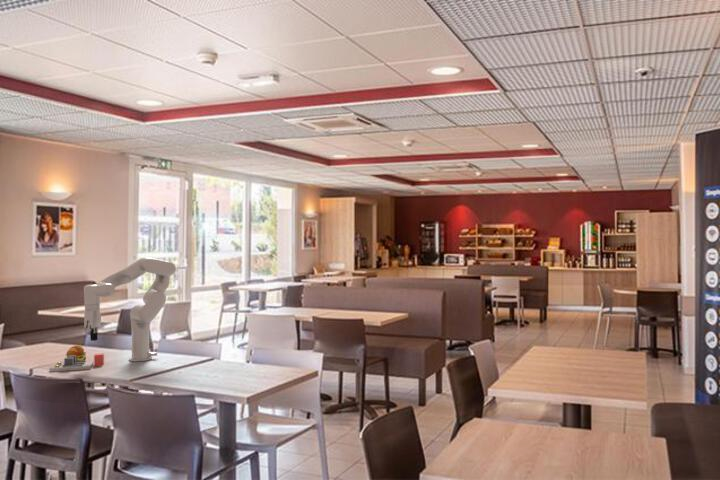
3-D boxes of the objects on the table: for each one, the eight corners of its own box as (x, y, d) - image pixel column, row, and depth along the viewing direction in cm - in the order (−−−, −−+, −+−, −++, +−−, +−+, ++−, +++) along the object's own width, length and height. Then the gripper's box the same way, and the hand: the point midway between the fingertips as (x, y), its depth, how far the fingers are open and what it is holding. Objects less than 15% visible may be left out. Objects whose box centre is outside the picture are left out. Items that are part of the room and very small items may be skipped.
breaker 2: (76, 362, 337) (76, 355, 337) (75, 363, 333) (74, 356, 333) (68, 362, 335) (68, 355, 335) (67, 364, 332) (66, 356, 332)
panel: (93, 364, 340) (93, 359, 340) (90, 369, 329) (90, 363, 329) (54, 367, 335) (54, 361, 335) (49, 371, 323) (49, 366, 323)
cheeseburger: (90, 359, 356) (88, 343, 353) (81, 367, 346) (78, 351, 343) (74, 358, 357) (72, 342, 354) (64, 366, 347) (61, 350, 344)
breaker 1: (73, 364, 331) (73, 357, 331) (72, 365, 327) (72, 358, 327) (65, 365, 330) (65, 357, 330) (64, 366, 326) (64, 358, 326)
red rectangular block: (104, 364, 343) (104, 353, 343) (103, 365, 339) (103, 354, 338) (95, 364, 342) (95, 353, 342) (94, 366, 337) (94, 355, 337)
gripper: (92, 305, 344) (94, 337, 344) (78, 309, 329) (80, 343, 330) (105, 305, 343) (107, 337, 344) (91, 309, 328) (93, 343, 329)
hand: (94, 340), depth 337 cm, fingers closed
